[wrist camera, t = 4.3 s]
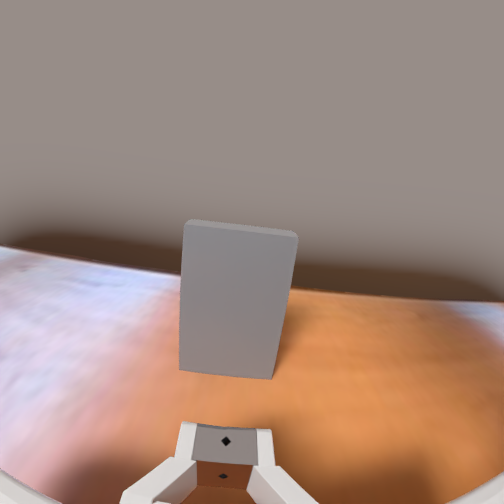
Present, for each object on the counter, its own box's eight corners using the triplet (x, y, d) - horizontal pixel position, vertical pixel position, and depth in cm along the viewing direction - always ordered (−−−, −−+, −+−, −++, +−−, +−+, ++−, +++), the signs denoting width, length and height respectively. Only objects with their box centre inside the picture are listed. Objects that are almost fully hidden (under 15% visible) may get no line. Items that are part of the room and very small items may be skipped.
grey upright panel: (271, 379, 20) (298, 237, 18) (179, 369, 20) (184, 224, 17) (269, 362, 23) (292, 230, 20) (184, 352, 22) (190, 218, 19)
